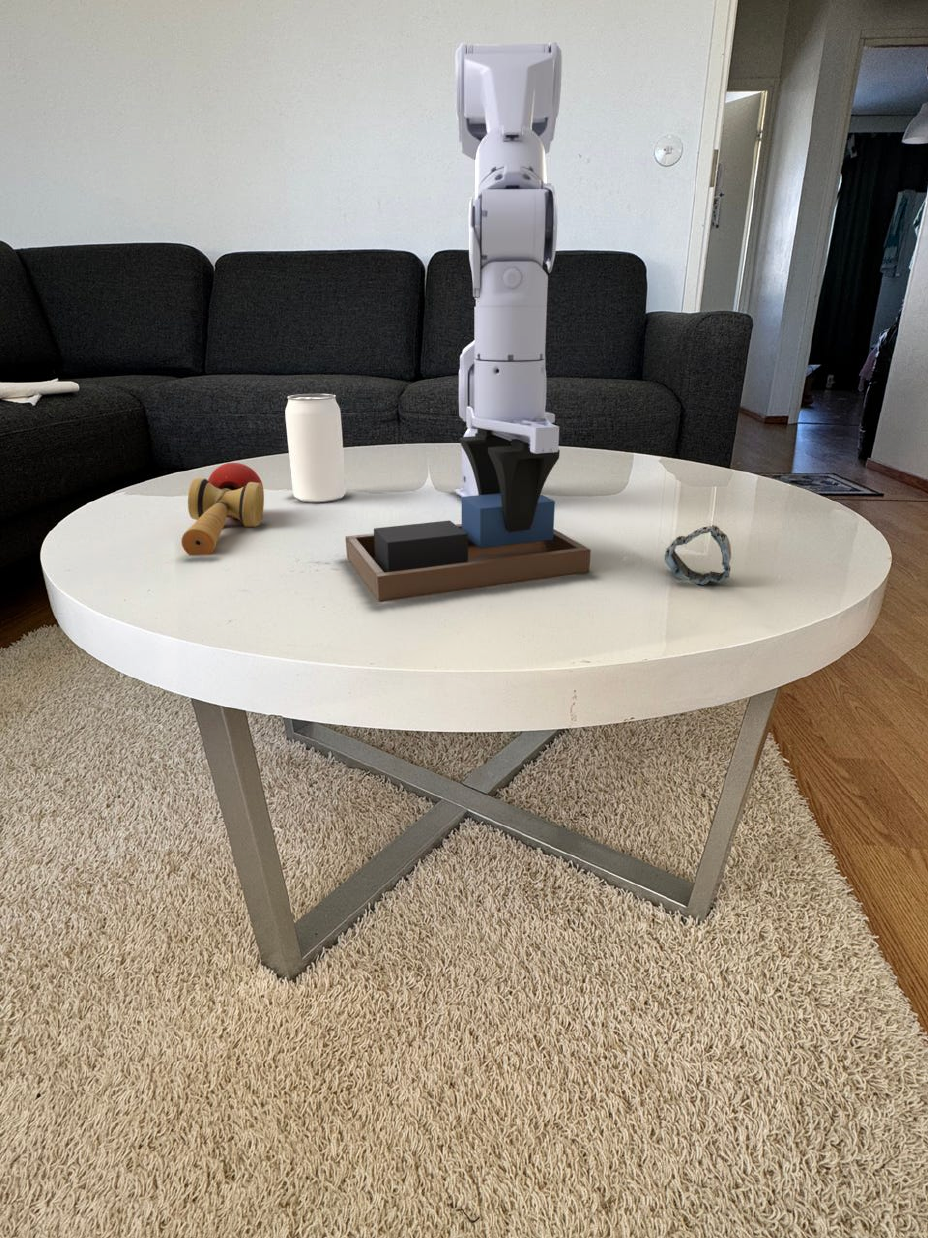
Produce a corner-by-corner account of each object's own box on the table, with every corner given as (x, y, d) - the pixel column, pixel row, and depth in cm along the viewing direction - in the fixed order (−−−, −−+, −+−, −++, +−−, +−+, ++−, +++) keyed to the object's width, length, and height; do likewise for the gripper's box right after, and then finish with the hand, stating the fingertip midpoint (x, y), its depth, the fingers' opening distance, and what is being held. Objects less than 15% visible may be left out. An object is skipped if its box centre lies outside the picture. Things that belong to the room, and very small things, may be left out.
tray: (347, 562, 66) (345, 536, 65) (530, 540, 72) (531, 516, 71) (379, 607, 56) (377, 576, 55) (589, 577, 62) (591, 549, 61)
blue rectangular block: (461, 534, 65) (461, 496, 64) (531, 526, 67) (532, 489, 66) (479, 548, 61) (480, 508, 60) (553, 539, 64) (555, 500, 62)
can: (335, 504, 86) (327, 399, 81) (284, 501, 87) (273, 398, 82) (353, 492, 92) (347, 393, 87) (306, 489, 93) (297, 392, 88)
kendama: (253, 570, 68) (283, 498, 83) (230, 508, 65) (265, 445, 80) (174, 585, 68) (218, 511, 84) (146, 524, 65) (198, 459, 80)
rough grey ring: (696, 590, 63) (661, 546, 62) (748, 559, 60) (711, 513, 59) (690, 605, 60) (653, 560, 60) (744, 574, 57) (706, 526, 57)
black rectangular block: (375, 566, 63) (373, 528, 62) (450, 557, 66) (449, 520, 64) (389, 583, 59) (387, 542, 58) (468, 572, 62) (468, 533, 60)
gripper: (598, 363, 53) (587, 539, 59) (517, 353, 66) (513, 499, 71) (511, 366, 51) (508, 549, 56) (444, 355, 64) (446, 506, 69)
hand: (506, 522), depth 64 cm, fingers closed on blue rectangular block, 4 cm apart
